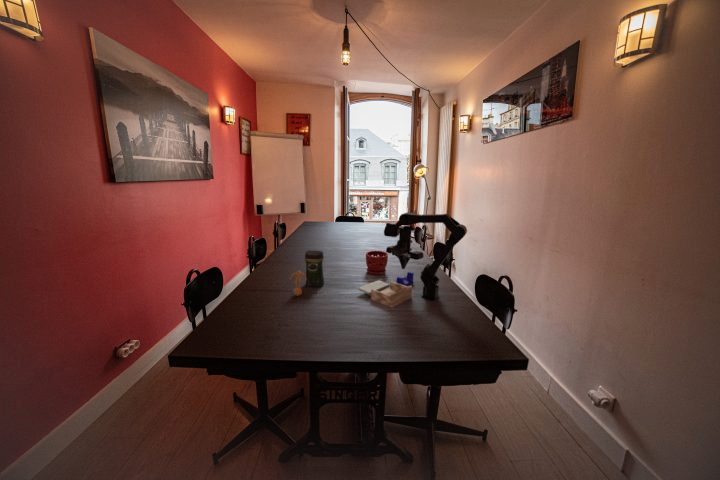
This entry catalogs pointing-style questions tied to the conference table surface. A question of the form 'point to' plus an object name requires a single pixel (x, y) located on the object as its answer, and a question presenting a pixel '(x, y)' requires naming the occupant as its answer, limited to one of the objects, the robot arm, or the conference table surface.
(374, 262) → the plant pot
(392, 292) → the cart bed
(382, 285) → the tailgate
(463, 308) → the conference table surface
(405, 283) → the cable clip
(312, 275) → the coffee jar
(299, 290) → the figurine
